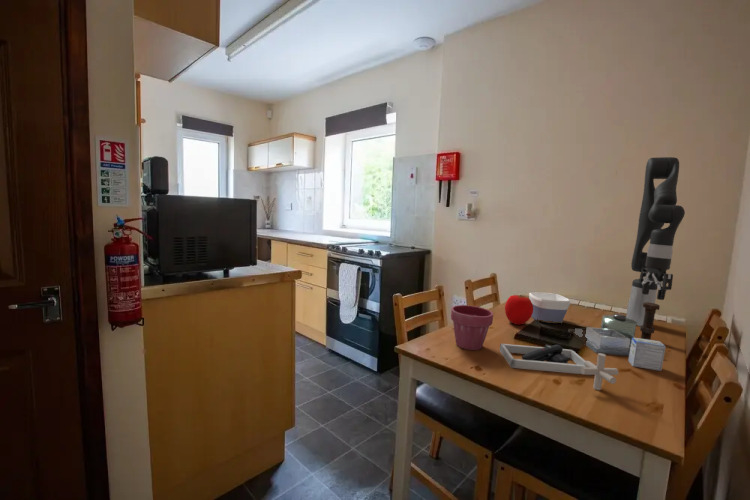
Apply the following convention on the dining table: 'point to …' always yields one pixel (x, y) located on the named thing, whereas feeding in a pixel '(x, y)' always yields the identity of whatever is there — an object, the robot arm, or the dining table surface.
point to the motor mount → (610, 335)
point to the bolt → (648, 320)
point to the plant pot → (471, 325)
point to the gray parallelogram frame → (541, 365)
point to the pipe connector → (599, 371)
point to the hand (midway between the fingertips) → (652, 296)
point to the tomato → (518, 309)
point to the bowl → (549, 306)
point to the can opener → (547, 354)
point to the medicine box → (646, 354)
